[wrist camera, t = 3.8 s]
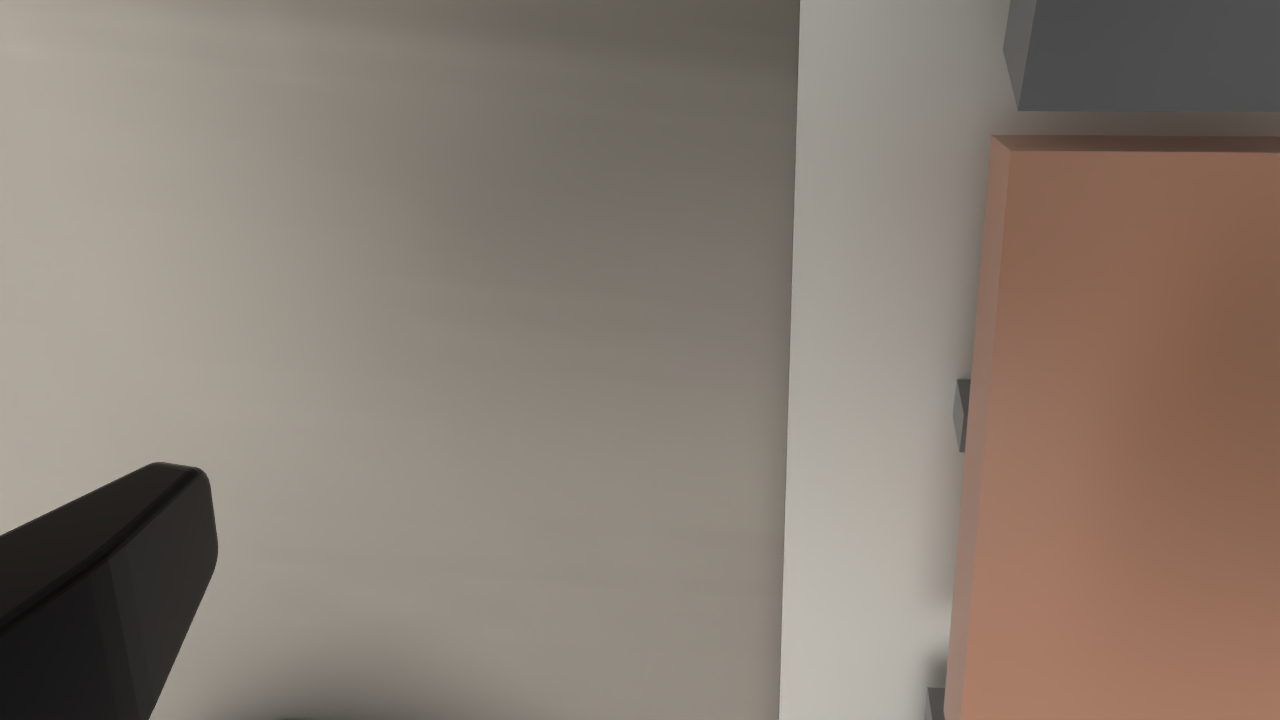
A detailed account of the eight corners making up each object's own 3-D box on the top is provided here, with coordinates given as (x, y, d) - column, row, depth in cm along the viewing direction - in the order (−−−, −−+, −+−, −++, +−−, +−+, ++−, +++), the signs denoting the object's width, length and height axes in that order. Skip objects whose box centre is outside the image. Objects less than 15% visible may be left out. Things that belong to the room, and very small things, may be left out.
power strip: (1139, 937, 29) (1206, 1202, 24) (775, 902, 30) (766, 1147, 25) (1692, -934, 12) (2299, -1359, 7) (827, -841, 14) (833, -1150, 8)
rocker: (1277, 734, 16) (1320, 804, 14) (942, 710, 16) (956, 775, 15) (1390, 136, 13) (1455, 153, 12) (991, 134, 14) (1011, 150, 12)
